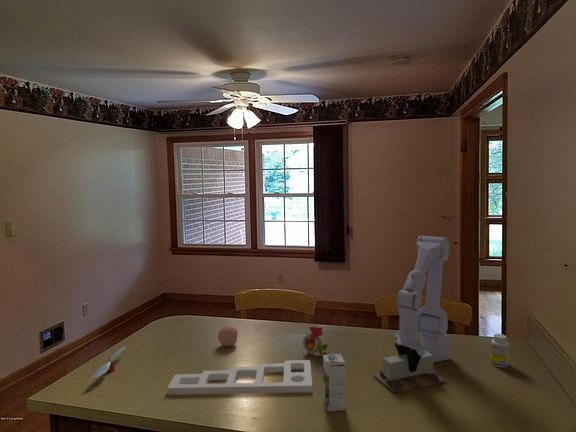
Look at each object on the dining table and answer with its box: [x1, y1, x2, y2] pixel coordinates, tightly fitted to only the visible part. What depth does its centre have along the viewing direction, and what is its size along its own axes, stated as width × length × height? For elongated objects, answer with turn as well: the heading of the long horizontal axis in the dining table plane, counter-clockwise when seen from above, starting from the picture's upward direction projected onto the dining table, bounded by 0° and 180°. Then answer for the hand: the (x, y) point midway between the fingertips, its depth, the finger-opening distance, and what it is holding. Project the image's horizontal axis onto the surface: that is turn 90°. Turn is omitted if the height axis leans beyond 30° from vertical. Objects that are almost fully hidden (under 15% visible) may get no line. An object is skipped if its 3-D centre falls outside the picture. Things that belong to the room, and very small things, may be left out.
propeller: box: [90, 346, 127, 379], centre depth 148 cm, size 4×25×4 cm, turn 177°
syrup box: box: [322, 353, 346, 413], centre depth 121 cm, size 6×6×14 cm
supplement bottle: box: [490, 333, 510, 368], centre depth 144 cm, size 6×6×10 cm
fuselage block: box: [382, 351, 434, 380], centre depth 136 cm, size 16×4×6 cm, turn 108°
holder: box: [167, 359, 313, 396], centre depth 139 cm, size 45×18×3 cm, turn 89°
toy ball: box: [217, 325, 239, 347], centre depth 167 cm, size 8×8×8 cm
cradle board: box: [372, 369, 446, 395], centre depth 136 cm, size 19×12×2 cm, turn 108°
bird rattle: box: [302, 326, 329, 357], centre depth 157 cm, size 6×11×9 cm
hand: (408, 368), depth 136 cm, fingers closed on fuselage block, 4 cm apart
